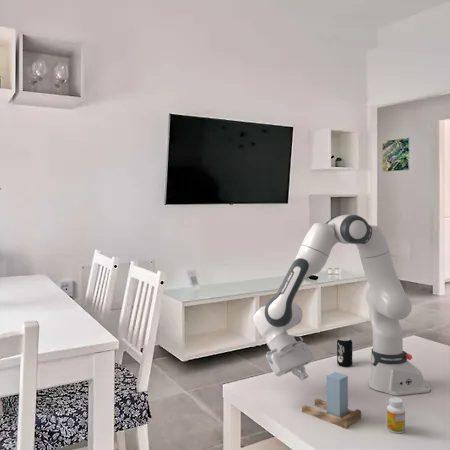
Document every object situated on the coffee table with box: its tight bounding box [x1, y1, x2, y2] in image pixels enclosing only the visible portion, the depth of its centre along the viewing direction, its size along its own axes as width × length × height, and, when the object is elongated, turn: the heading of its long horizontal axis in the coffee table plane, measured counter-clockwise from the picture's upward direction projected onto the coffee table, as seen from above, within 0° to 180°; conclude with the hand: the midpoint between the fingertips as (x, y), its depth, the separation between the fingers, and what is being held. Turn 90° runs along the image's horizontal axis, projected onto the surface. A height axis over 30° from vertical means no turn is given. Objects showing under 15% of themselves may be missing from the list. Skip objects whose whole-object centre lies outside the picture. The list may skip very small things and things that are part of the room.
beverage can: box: [336, 336, 353, 368], centre depth 208 cm, size 7×7×12 cm
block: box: [326, 371, 349, 418], centre depth 157 cm, size 5×5×14 cm
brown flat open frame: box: [301, 397, 362, 429], centre depth 159 cm, size 18×9×3 cm, turn 44°
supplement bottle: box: [386, 396, 406, 435], centre depth 148 cm, size 5×5×10 cm
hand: (304, 378), depth 168 cm, fingers closed
